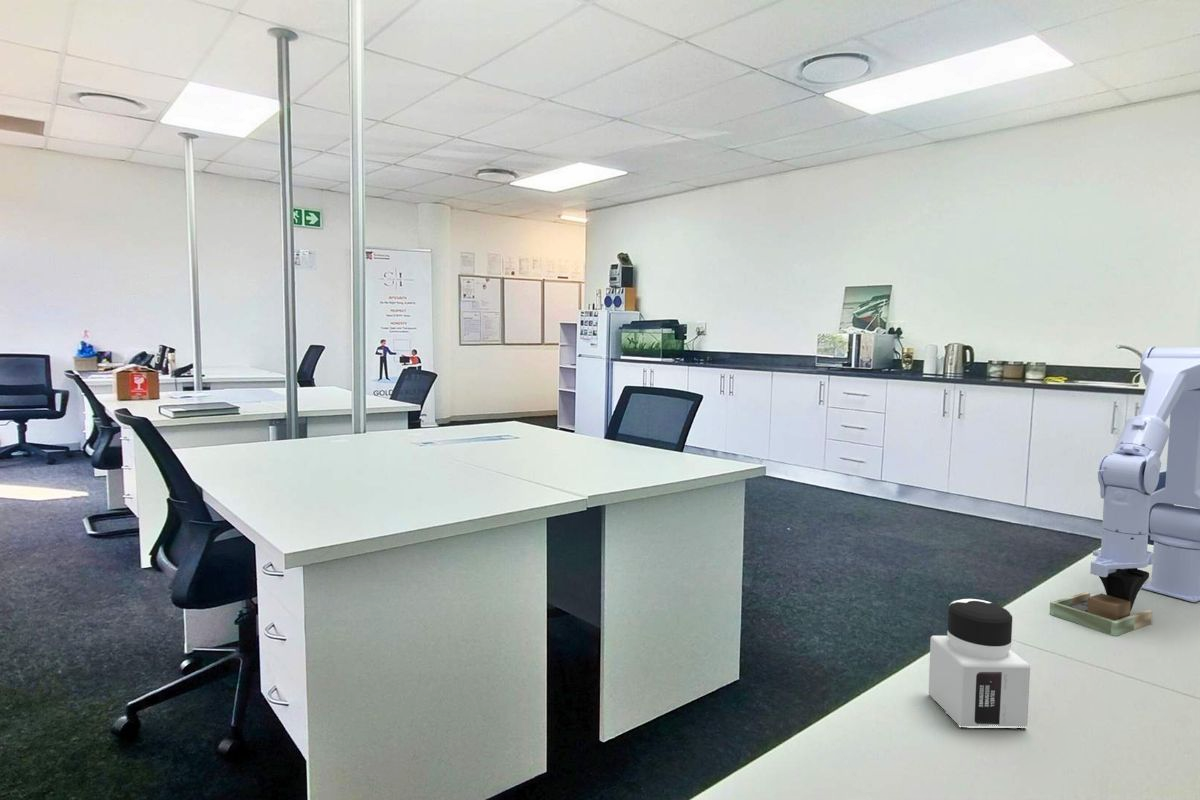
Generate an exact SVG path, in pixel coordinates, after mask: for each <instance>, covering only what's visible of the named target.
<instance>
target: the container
mask: <svg viewBox="0 0 1200 800" xmlns="http://www.w3.org/2000/svg"><path fill="white" fill-rule="evenodd" d="M947 609H948V611H947V635H932V636H930V645H929V646H930V647H929V669H928V670H929V672H928V696H930V698H932V700H933V701H936V702H937V703H938V704H939V705H940V706H941V707H942V708H943V709H944V710H945V711H946V712H945V711H944V710H943V709H942V708H941V707H940V706H939V705H938V704H937V703H936V702H935V703H936V704H937V705H938V706H939V707H940V708H941V709H942V710H943V711H944V712H945V713H946V715H947V714H948V715H949V716H950V717H951V718H952V719H953V720H954V721H955V722H956V723H957V724H958V725H960V726H979V725H980V726H989V725H990V726H991V725H992V726H993V725H994V726H995V725H996V726H997V725H998V726H1018V727H1019V726H1020V727H1021V726H1022V727H1023V726H1024V727H1025V726H1027V727H1028V721H1029V720H1028V719H1029V717H1028V716H1029V700H1030V695H1029V694H1030V677H1031V666H1030V664H1029V662H1027V661H1026V660H1024V658H1022V657H1020V656H1019V655H1017V653H1015V652H1014V651H1013V650H1011V649H1012V637H1013V615H1012V614H1011V613H1010V611H1009V610H1007V609H1006V608H1005V607H1003V606H1000V605H999V604H997V603H995V602H994V603H993V602H990V601H987V600H984V599H975V598H962V599H957V600H956V599H955V600H953V601H952V602H950V603H949V605H948V608H947ZM948 715H947V716H948ZM949 716H948V717H949ZM950 717H949V718H950ZM951 718H950V719H951ZM952 719H951V720H952ZM953 720H952V721H953ZM954 721H953V722H954ZM955 722H954V723H955ZM956 723H955V724H956ZM957 724H956V725H957ZM958 725H957V726H958Z"/></svg>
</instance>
